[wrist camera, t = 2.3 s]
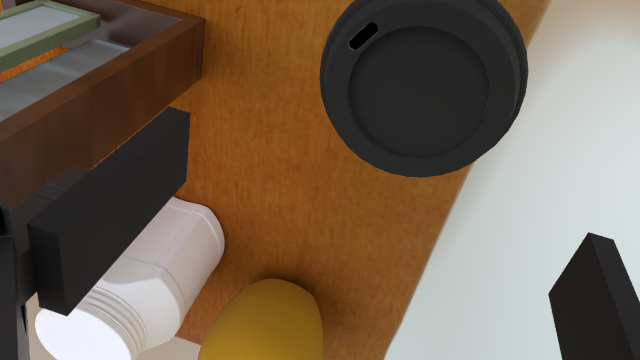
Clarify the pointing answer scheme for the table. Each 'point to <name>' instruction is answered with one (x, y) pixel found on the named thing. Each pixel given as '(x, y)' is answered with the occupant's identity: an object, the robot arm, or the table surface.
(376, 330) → the table surface
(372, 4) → the coffee cup
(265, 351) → the apple
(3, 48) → the window sash
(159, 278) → the jar
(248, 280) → the table surface
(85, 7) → the window frame
